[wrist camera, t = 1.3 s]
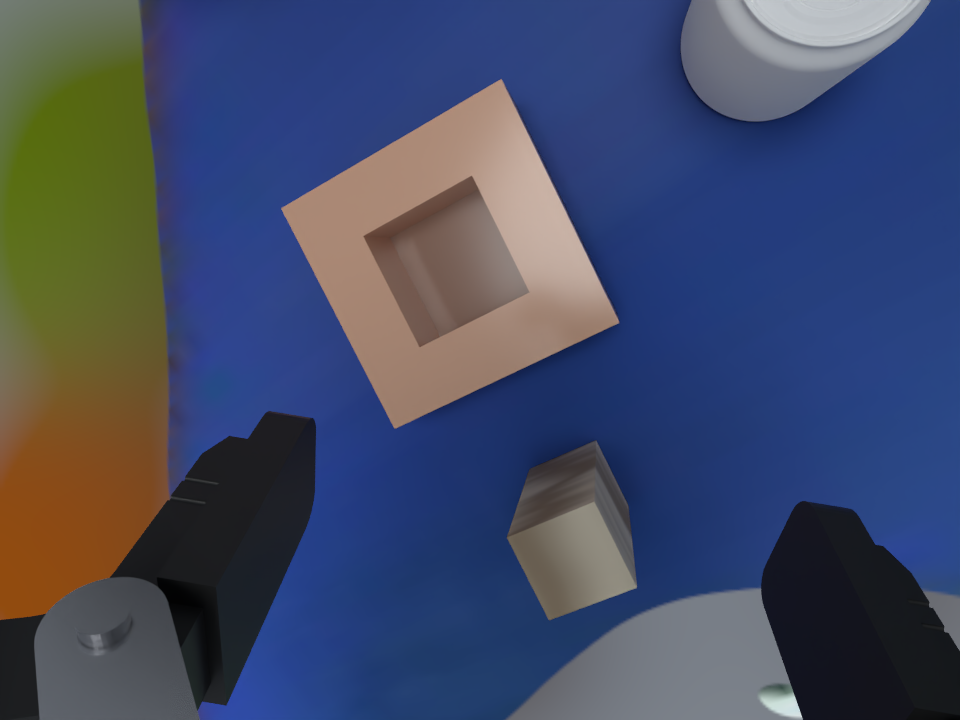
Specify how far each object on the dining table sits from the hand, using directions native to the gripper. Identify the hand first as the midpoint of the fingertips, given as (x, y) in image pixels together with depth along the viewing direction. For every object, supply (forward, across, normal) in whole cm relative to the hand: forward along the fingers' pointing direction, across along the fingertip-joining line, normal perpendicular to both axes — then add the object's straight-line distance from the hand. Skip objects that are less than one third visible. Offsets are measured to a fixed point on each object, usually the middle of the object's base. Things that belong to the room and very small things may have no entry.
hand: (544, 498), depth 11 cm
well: (+28, +4, +7) cm, 29 cm away
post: (+23, -5, +18) cm, 30 cm away
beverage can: (+31, -10, -6) cm, 33 cm away
